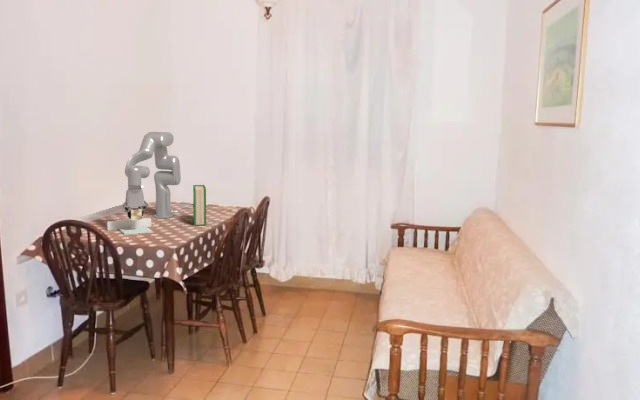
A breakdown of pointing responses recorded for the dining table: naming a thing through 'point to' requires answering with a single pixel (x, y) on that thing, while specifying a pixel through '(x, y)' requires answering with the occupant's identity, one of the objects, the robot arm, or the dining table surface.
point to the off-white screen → (128, 224)
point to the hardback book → (199, 204)
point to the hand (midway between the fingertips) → (135, 217)
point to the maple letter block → (136, 213)
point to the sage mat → (135, 230)
